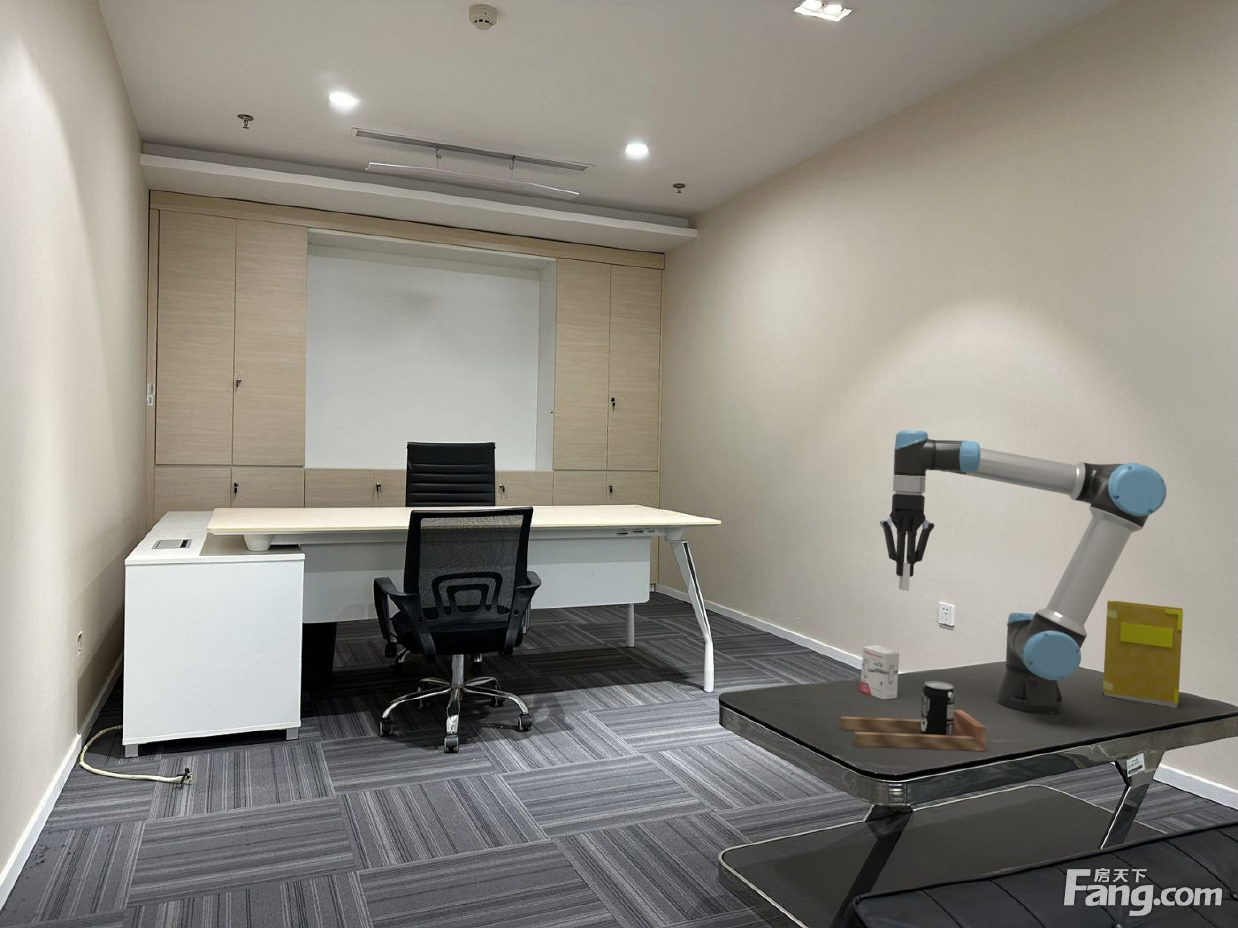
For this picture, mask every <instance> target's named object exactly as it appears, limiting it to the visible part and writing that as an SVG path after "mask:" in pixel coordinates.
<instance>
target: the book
mask: <svg viewBox="0 0 1238 928" xmlns="http://www.w3.org/2000/svg"><path fill="white" fill-rule="evenodd" d="M1183 619H1184V610H1183V607H1175V606H1165V605H1155V604H1148V603H1146V604H1145V603H1137V602H1129V601H1122V600H1121V601H1120V600H1119V601H1118V600H1107V605H1106V625H1105V641H1104V642H1105V644H1104V659H1103V661H1104V663H1103V680H1102V681H1103V683H1102V692H1103V691H1104V692H1105V693H1109V694H1112V695H1119V696H1131V697H1137V698H1143V699H1151V700H1161V701H1166V702H1174V703H1178V704H1179V696H1180V695H1179V693H1180V677H1181V676H1180V675H1181V673H1180V672H1181V661H1182V658H1181V657H1182V656H1181V654H1182V638H1183Z"/></svg>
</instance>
